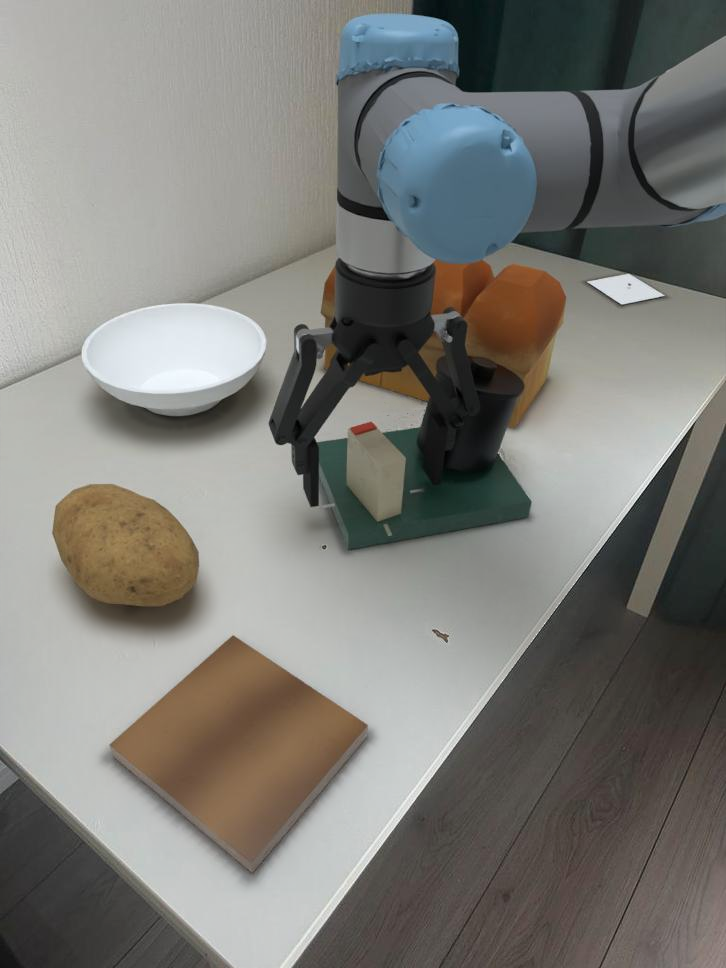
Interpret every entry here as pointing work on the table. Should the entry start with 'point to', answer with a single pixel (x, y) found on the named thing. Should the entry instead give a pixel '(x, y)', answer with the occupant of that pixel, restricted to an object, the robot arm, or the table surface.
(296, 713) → the board
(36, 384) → the table surface
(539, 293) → the bread
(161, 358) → the bowl
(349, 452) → the cream juice carton
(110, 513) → the potato
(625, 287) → the coaster
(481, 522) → the green rectangular slab
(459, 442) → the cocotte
